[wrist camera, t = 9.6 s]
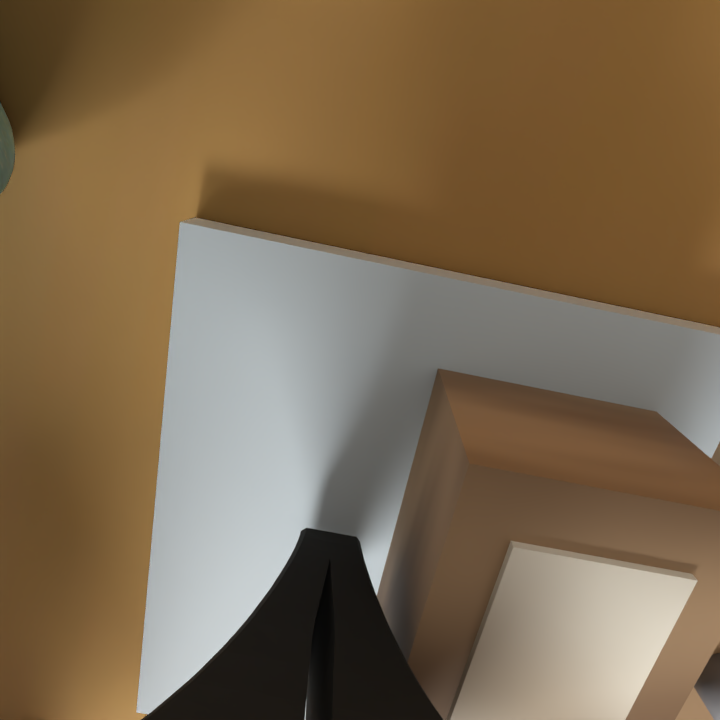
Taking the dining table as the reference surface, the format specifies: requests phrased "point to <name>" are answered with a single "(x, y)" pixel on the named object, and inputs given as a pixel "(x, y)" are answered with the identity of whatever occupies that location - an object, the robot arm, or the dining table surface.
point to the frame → (553, 557)
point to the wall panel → (354, 412)
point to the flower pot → (6, 150)
